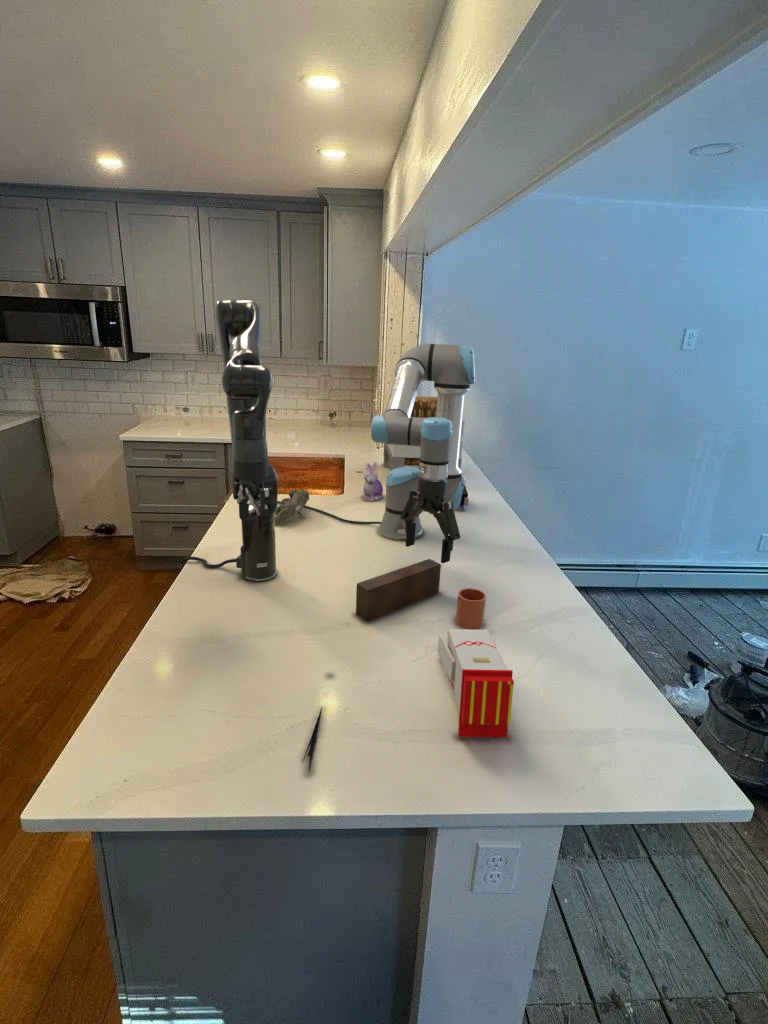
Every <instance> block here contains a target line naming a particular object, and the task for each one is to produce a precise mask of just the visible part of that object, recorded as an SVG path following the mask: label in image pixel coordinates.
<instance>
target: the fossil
mask: <svg viewBox="0 0 768 1024" xmlns="http://www.w3.org/2000/svg"><path fill="white" fill-rule="evenodd" d="M288 496H289V497H287V498H286V497H285V498H282V499H281V503H282V504H280V505H277V510H276V513H275V525H278V526H279V525H282V524H284V523H287V522H288V521H289V520H291V519H292V518H294V516H296V515H297V514H298V515H299V516H300V517H301V518H302V517H303V515H302V513H301V512H300V511H301V510H302V508H304V506H307V503H308V502H309V500H310V494H309V492H308V490H305V488H300V489H299V490H298V489H296V488H295V489H290V490H289V492H288Z"/></svg>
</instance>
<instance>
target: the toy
mask: <svg viewBox="0 0 768 1024" xmlns="http://www.w3.org/2000/svg"><path fill="white" fill-rule="evenodd" d="M446 640H447V643H446V641H445V639H444V636H443V635H442V634H439V637H438V646H437V656H438V657H439V659H440V661H441V663H442V666H443V668H444V670H445V672H446V674H447V677H448V679H449V681H450V684H451V687H452V690H453V693H454V697H455V701H456V705H457V708H458V711H459V714H458V715H459V716H458V730H457V731H458V732H457V737H458V738H508V731H509V726H510V725H511V717H512V707H513V697H514V696H513V695H514V684H515V680H514V679H513V673H514V671H513V670H512V669H508V667H507V665H506V662H505V661H504V659H503V658H502V655H501V653H500V651H499V649H498V647H497V643H496V639H495V637H494V635H493V634H491V632H490V631H489V629H465V628H460V629H459V628H448V630H447V639H446Z"/></svg>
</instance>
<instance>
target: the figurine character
mask: <svg viewBox="0 0 768 1024" xmlns="http://www.w3.org/2000/svg"><path fill="white" fill-rule="evenodd" d="M469 502H470V501H469V492H468V490H467V487H466V485H465V484H464V488H463V492H462V497H461V501H460V505H459V507H458V508H461V510H462V511H464V510H465V507H468V506H469ZM458 508H457V509H456V510H455V511H457V510H458Z"/></svg>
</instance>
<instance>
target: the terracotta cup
mask: <svg viewBox="0 0 768 1024" xmlns="http://www.w3.org/2000/svg"><path fill="white" fill-rule="evenodd" d="M486 600H487V595H486V593H485V592H483V590H480V589H476V588H472V587H470V588H469V587H467V588H462V589H460V590H459V591H458V593H457V601H456V602H457V604H456V614H455V623H456V624H457V626H458V627H460V628H461V629H469V630H479V629H481V627H482V626H483V624H484V618H485V608H486Z"/></svg>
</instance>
